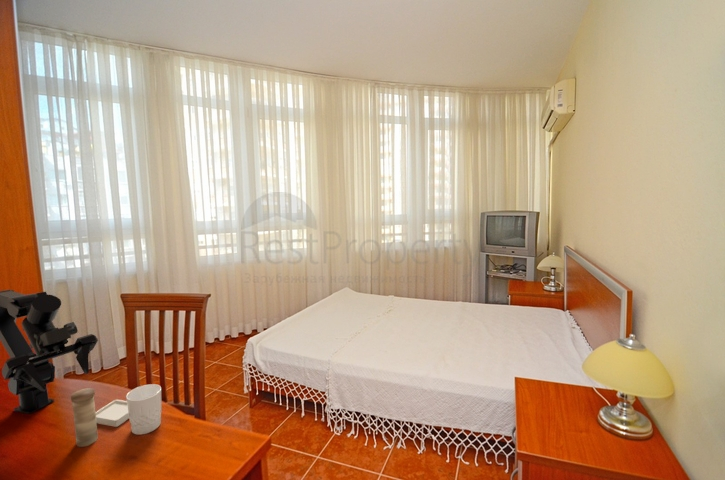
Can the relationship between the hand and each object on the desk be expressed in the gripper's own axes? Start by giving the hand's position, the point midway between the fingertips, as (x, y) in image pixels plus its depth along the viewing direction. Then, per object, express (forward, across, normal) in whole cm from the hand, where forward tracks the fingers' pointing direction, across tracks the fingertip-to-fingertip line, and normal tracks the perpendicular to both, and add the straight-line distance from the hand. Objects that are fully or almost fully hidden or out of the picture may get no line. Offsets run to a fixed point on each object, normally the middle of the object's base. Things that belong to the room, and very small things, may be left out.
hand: (67, 381), depth 89 cm
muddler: (+15, 0, +4) cm, 16 cm away
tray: (+12, +9, +7) cm, 17 cm away
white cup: (+21, +10, -1) cm, 23 cm away
